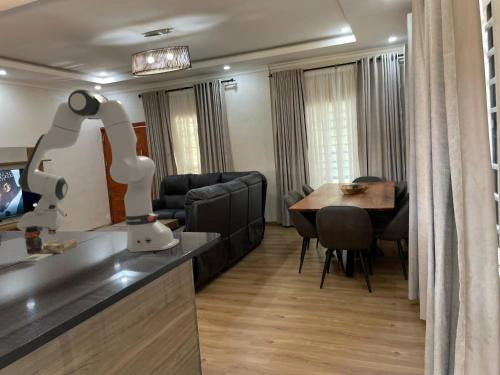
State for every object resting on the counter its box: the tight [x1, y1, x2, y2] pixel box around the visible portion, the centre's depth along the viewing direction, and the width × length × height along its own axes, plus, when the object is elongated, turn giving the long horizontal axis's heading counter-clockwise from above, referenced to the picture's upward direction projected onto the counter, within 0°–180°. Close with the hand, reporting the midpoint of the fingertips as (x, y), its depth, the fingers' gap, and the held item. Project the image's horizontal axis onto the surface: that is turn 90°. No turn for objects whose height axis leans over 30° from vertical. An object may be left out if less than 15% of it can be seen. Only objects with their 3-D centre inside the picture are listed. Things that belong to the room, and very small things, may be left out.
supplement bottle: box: [23, 226, 43, 255], centre depth 163 cm, size 6×6×11 cm
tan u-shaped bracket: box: [39, 238, 78, 254], centre depth 176 cm, size 13×10×4 cm
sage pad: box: [18, 253, 54, 262], centre depth 164 cm, size 9×9×1 cm
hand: (31, 238), depth 162 cm, fingers closed on supplement bottle, 6 cm apart
